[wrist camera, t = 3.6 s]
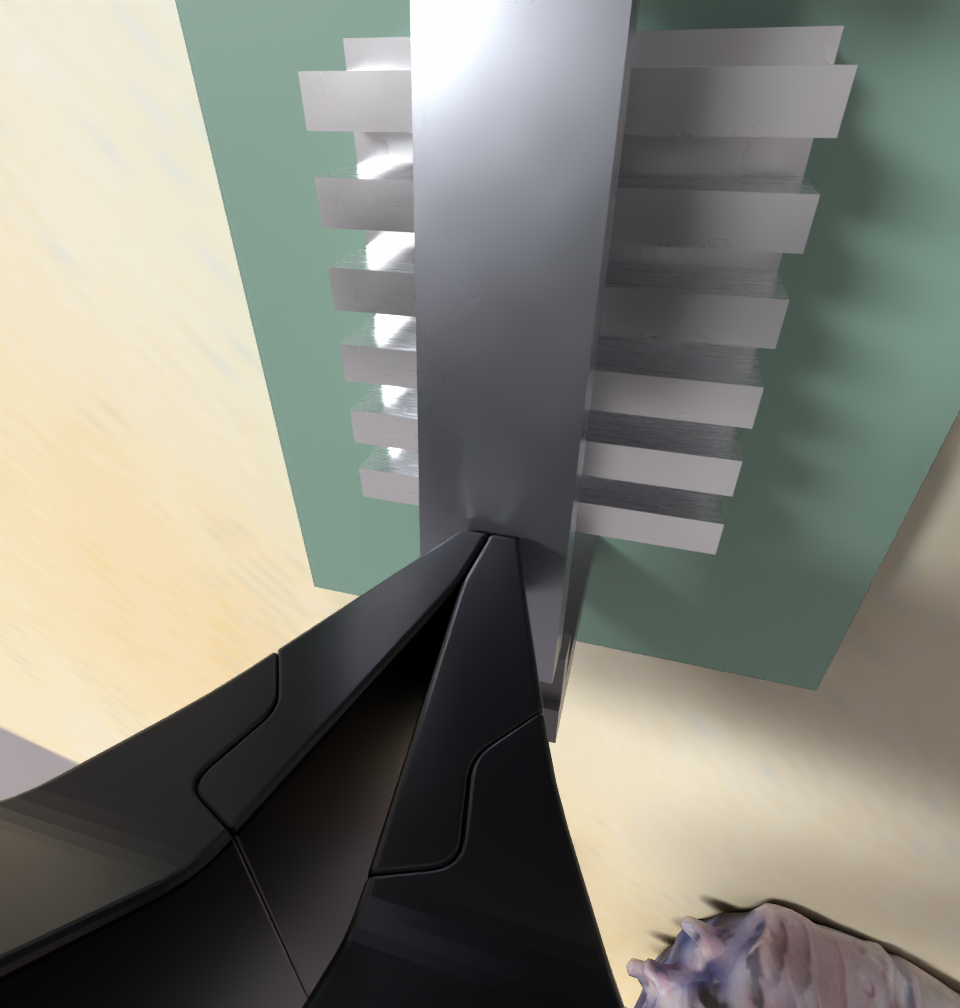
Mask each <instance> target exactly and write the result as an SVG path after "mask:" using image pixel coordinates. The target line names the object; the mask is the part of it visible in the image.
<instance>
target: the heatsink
mask: <svg viewBox="0 0 960 1008" xmlns="http://www.w3.org/2000/svg"><path fill="white" fill-rule="evenodd" d="M843 29H844V26H808V27H768V28H729V29H690V30H651V31H636V37H635V45H634V53H633V61H632V70H631V78H630V86H629V94H628V102H627V111H626V119H625V127H624V135H623V143H622V152H621V160H620V168H619V176H618V184H617V193H616V201H615V209H614V217H613V225H612V234H611V242H610V250H609V258H608V266H607V275H606V283H605V291H604V299H603V307H602V316H601V324H600V332H599V340H598V348H597V357H596V365H595V373H594V381H593V389H592V398H591V406H590V414H589V422H588V430H587V439H586V447H585V455H584V463H583V471H582V480H581V488H580V496H579V504H578V512H577V521H576V529H575V532H581V533H587V534H593V535H599V536H605V537H611V538H617V539H623V540H629V541H635V542H642V543H648V544H654V545H660V546H666V547H672V548H678V549H684V550H690V551H696V552H702V553H708V554H714V555H715V554H716V551H717V547H718V544H719V541H720V537H721V534H722V530H723V527H724V514H723V499H722V495H725V496H733V492H734V489H735V486H736V482H737V479H738V475H739V472H740V468H741V465H742V462H743V461H742V453H741V445H740V437H739V428H738V427H741V428H749V429H752V427H753V424H754V420H755V417H756V413H757V410H758V407H759V403H760V400H761V396H762V393H763V389H764V385H763V381H762V376H761V371H760V367H759V362H758V357H757V353H756V349H757V348H768V349H775V348H776V345H777V341H778V338H779V334H780V331H781V328H782V324H783V321H784V317H785V314H786V310H787V307H788V304H789V298H788V295H787V293H786V290H785V288H784V285H783V283H782V280H781V278H780V275H779V273H778V268H779V264H780V260H781V257H782V253H796V254H803V252H804V249H805V245H806V242H807V238H808V235H809V231H810V228H811V225H812V221H813V218H814V214H815V211H816V207H817V204H818V201H819V197H820V194H819V193H818V192H817V191H816V190H815V189H814V188H813V187H812V185H811V184H810V183H809V182H808V181H807V180H806V179H805V178H804V177H803V176H804V172H805V168H806V165H807V161H808V157H809V154H810V150H811V146H812V143H813V139H814V138H837V135H838V132H839V128H840V125H841V122H842V118H843V115H844V111H845V108H846V104H847V101H848V97H849V94H850V91H851V87H852V84H853V80H854V77H855V73H856V70H857V67H858V65H834V62H835V58H836V54H837V51H838V47H839V43H840V40H841V36H842V32H843ZM343 43H344V52H345V61H346V69H347V71H298V75H299V82H300V88H301V95H302V101H303V108H304V114H305V121H306V127H307V131H349V132H354V139H355V148H356V156H357V165H355V166H351V167H348V168H345V169H341V170H338V171H335V172H331V173H328V174H325V175H321V176H318V177H315V178H314V179H315V186H316V192H317V199H318V205H319V212H320V218H321V225H322V228H337V229H355V230H365V235H366V244H367V246H365V247H364V248H362V249H360V250H358V251H356V252H355V253H353V254H351V255H349V256H347V257H346V258H344V259H342V260H340V261H338V262H337V263H335V264H333V265H331V266H329V267H328V271H329V277H330V284H331V290H332V297H333V303H334V310H341V311H352V312H363V313H374V314H375V316H374V317H373V318H372V319H371V320H369V321H368V322H367V323H366V324H364V325H363V326H362V327H361V328H359V329H358V330H357V331H355V332H354V333H353V334H352V335H350V336H349V337H348V338H347V339H345V340H344V341H343V342H342V343H340V349H341V355H342V362H343V368H344V375H345V381H352V382H360V383H369V384H375V385H374V386H373V388H372V389H371V390H370V391H369V392H368V393H367V394H366V395H365V396H364V397H363V398H362V399H361V400H360V401H359V402H358V403H357V404H356V405H355V406H354V407H353V408H352V409H351V410H350V414H351V420H352V427H353V433H354V440H355V442H356V443H363V444H370V445H377V447H376V448H375V449H374V450H373V452H372V453H371V454H370V455H369V456H368V458H367V459H366V460H365V461H364V463H363V464H362V465H361V466H360V467H359V472H360V479H361V485H362V492H363V496H364V497H370V498H376V499H382V500H388V501H394V502H400V503H406V504H412V505H418V506H419V469H418V413H417V357H416V301H415V245H414V188H413V132H412V76H411V37H378V38H343Z"/></svg>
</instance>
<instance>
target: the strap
mask: <svg viewBox="0 0 960 1008" xmlns="http://www.w3.org/2000/svg"><path fill="white" fill-rule="evenodd" d="M639 4H640V0H410V20H411V76H412V132H413V188H414V245H415V301H416V357H417V413H418V469H419V525H420V557H421V556H423V555H424V554H426V553H427V552H429V551H430V550H432V549H433V548H435V547H436V546H438V545H439V544H441V543H442V542H444V541H446V540H447V539H449V538H450V537H452V536H453V535H455V534H456V533H458V532H460V531H462V530H467V531H473V532H479V533H485V534H487V535H488V536H489V537H490V536H492V535H497V536H503V537H509V538H514V539H516V540H517V541H518V543H519V550H520V556H521V563H522V570H523V576H524V583H525V590H526V596H527V603H528V610H529V616H530V623H531V630H532V637H533V643H534V650H535V657H536V663H537V670H538V677H539V681H542V682H546V683H550V684H552V682H553V678H554V674H555V670H556V666H557V662H558V658H559V654H560V650H561V644H562V636H563V627H564V619H565V611H566V603H567V595H568V586H569V578H570V570H571V562H572V554H573V545H574V537H575V529H576V521H577V512H578V504H579V496H580V488H581V480H582V471H583V463H584V455H585V447H586V439H587V430H588V422H589V414H590V406H591V398H592V389H593V381H594V373H595V365H596V357H597V348H598V340H599V332H600V324H601V316H602V307H603V299H604V291H605V283H606V275H607V266H608V258H609V250H610V242H611V234H612V225H613V217H614V209H615V201H616V193H617V184H618V176H619V168H620V160H621V152H622V143H623V135H624V127H625V119H626V111H627V102H628V94H629V86H630V78H631V70H632V61H633V53H634V45H635V37H636V29H637V20H638V12H639Z"/></svg>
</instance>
